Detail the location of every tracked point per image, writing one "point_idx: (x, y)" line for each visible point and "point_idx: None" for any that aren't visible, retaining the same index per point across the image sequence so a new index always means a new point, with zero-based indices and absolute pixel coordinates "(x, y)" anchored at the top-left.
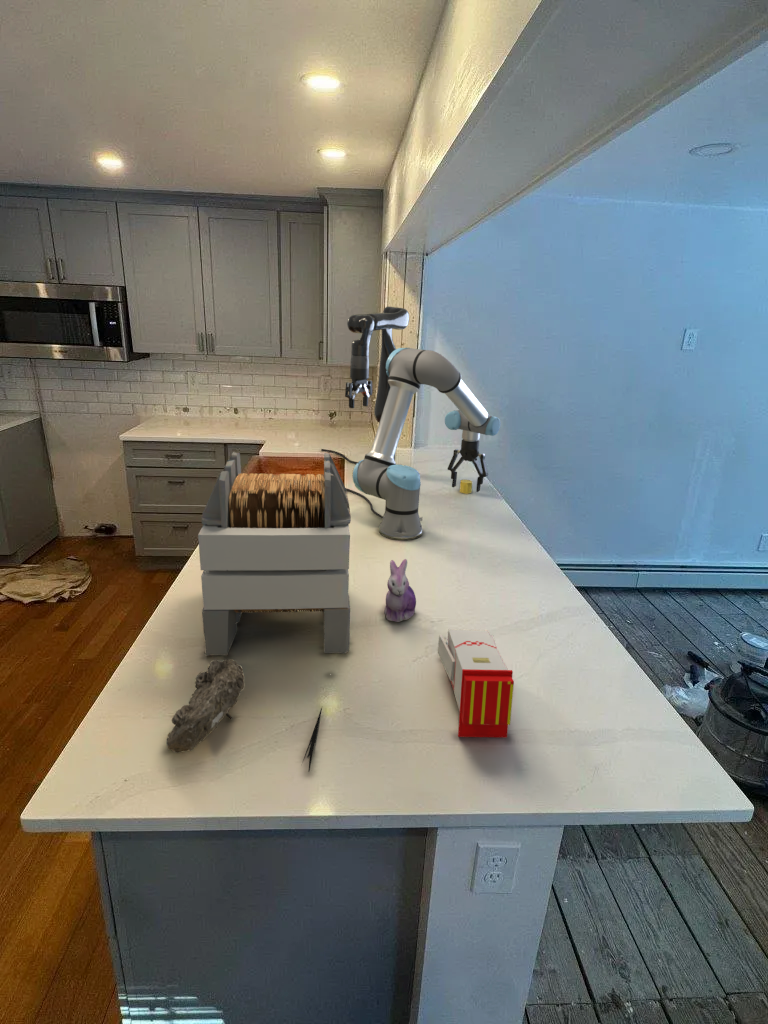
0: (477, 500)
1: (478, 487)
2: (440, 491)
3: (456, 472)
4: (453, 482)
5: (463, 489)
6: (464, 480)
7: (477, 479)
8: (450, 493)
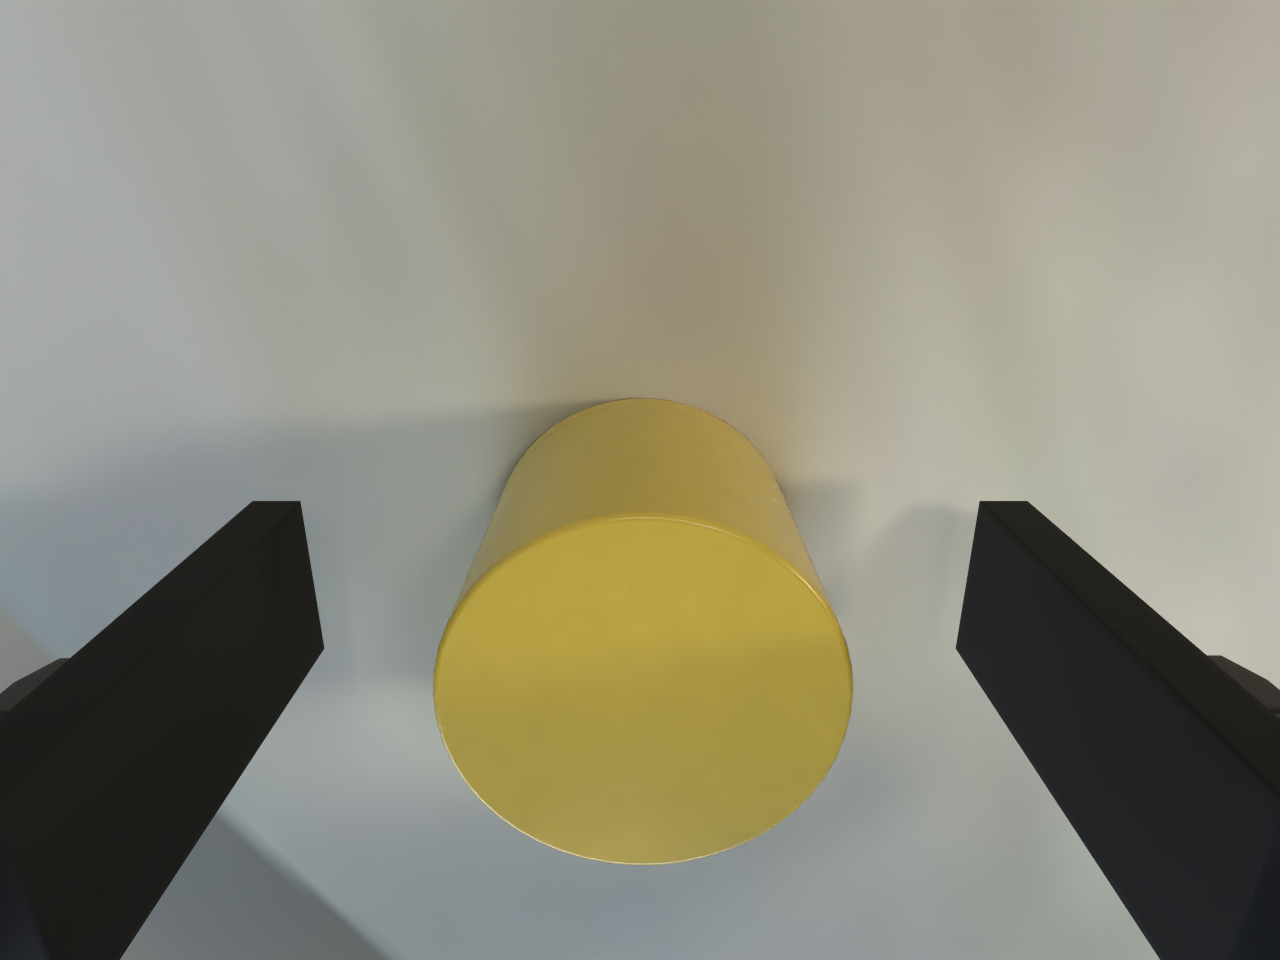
0: (41, 47)
1: (188, 578)
2: (1245, 162)
3: (1215, 951)
4: (1059, 564)
5: (644, 429)
6: (734, 735)
7: (62, 730)
8: (933, 171)
